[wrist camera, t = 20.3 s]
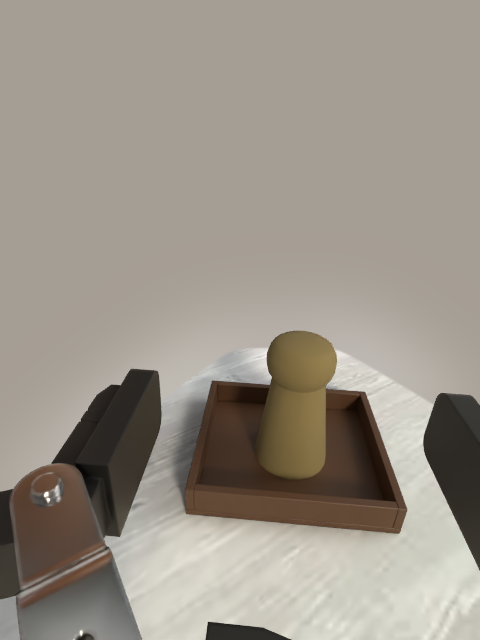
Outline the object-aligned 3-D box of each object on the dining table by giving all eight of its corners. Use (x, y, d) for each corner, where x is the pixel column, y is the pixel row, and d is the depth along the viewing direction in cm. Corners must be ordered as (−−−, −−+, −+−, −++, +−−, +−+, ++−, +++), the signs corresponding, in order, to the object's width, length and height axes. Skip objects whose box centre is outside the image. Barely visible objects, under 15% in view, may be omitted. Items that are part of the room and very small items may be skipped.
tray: (186, 514, 28) (185, 489, 27) (212, 400, 39) (212, 380, 38) (399, 534, 27) (407, 509, 26) (360, 411, 39) (365, 391, 38)
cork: (339, 452, 33) (361, 340, 28) (297, 493, 29) (315, 372, 24) (283, 417, 37) (295, 314, 32) (240, 450, 33) (245, 338, 28)
